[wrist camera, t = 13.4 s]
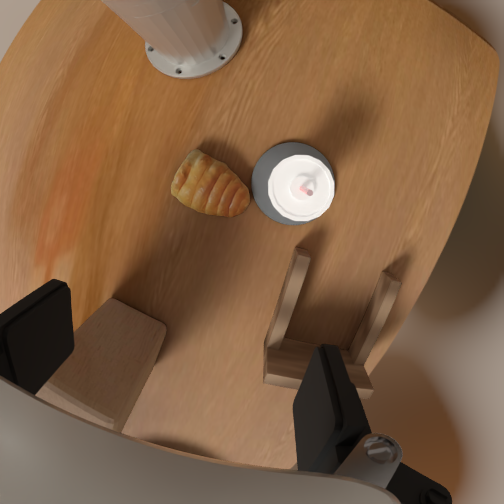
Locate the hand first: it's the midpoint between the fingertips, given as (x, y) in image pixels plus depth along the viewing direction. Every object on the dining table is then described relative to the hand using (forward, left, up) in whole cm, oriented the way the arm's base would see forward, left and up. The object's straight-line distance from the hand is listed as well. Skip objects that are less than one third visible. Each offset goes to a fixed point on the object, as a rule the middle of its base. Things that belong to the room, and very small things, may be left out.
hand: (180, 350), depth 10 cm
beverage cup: (-6, +5, -28) cm, 29 cm away
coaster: (-6, +5, -28) cm, 29 cm away
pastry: (-3, -5, -29) cm, 29 cm away
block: (+21, -12, -29) cm, 38 cm away
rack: (+9, +15, -28) cm, 33 cm away
